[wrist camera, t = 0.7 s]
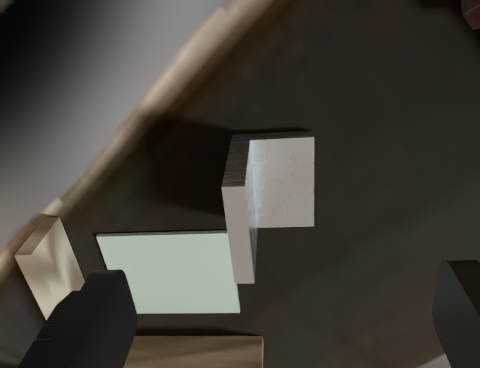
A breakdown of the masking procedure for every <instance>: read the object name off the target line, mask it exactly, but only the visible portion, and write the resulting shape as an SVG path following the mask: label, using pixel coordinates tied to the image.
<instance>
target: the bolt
mask: <svg viewBox="0 0 480 368" xmlns="http://www.w3.org/2000/svg"><path fill="white" fill-rule="evenodd" d="M461 7H462V13H463V17H464V18H465V19H466V21H467V22H468V24H469V25H470V26H471V28H472V29H473V30H474V29H479V28H480V0H461Z"/></svg>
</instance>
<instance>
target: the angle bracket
mask: <svg viewBox="0 0 480 368" xmlns="http://www.w3.org/2000/svg"><path fill="white" fill-rule="evenodd" d="M221 188H222V195H223V202H224V210H225V217H226V225H227V232H228V239H229V247H230V254H231V261H232V269H233V276H234V284H242V283H254V281H255V264H256V247H257V230H258V228H267V227H302V226H314V134H313V131H298V132H279V133H260V134H241V135H232V139H231V144H230V148H229V153H228V158H227V163H226V168H225V172H224V177H223V182H222V187H221Z"/></svg>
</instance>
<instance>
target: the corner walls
mask: <svg viewBox="0 0 480 368" xmlns="http://www.w3.org/2000/svg"><path fill="white" fill-rule="evenodd" d="M14 256H15V258H16V260H17V263H18V265H19V267H20V269H21V271H22V273H23V275H24V277H25V279H26V281H27V283H28V285H29V287H30V289H31V291H32V293H33V295H34V297H35V299H36V301H37V303H38V305H39V307H40V309H41V311H42V313H43V315H44V317H45V319H46V321H47V319H48V317H49V316H50V314H51V313H52V311H53V309H54V308H55V306H56V305H57V304H58V303H59V302H60V301H61V300H63V299H64V298H65V297H66V296H67V295H68V294H69V293H70V292H72V291H79V290H80V289H81V288H82V286H83V284H84V282H85V281H84V278H83V276H82V273H81V271H80V268H79V266H78V263H77V260H76V258H75V255H74V253H73V250H72V248H71V245H70V243H69V240H68V238H67V235H66V233H65V230H64V228H63V225H62V223H61V220H60V218H59V217H47V218H44V219H43V220H42V221H41V222H40V224H39V225H38V226H37V227H36V229H35V230H34V231H33V232H32V234H31V235H30V236H29V237H28V239H27V240H26V241H25V242H24V244H23V245H22V246H21V247H20V249H19V250H18V251H17V252H16V254H15V255H14ZM124 368H263V336H135V337H134V340H133V343H132V345H131V348H130V351H129V354H128V356H127V359H126V362H125V365H124Z"/></svg>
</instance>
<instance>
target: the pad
mask: <svg viewBox="0 0 480 368" xmlns="http://www.w3.org/2000/svg"><path fill="white" fill-rule="evenodd" d="M96 238H97V241H98V243H99V246H100V249H101V252H102V255H103V258H104V261H105V263H106V266H107V269H108V270H118V269H121V270H123V271H124V273H125V275H126V278H127V281H128V284H129V288H130V291H131V294H132V298H133V301H134V304H135V308H136V312H137V313H240V305H239V298H238V290H237V284H234V276H233V269H232V261H231V254H230V247H229V239H228V232H227V230H223V231H187V232H151V233H115V234H98V235H97V236H96Z"/></svg>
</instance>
